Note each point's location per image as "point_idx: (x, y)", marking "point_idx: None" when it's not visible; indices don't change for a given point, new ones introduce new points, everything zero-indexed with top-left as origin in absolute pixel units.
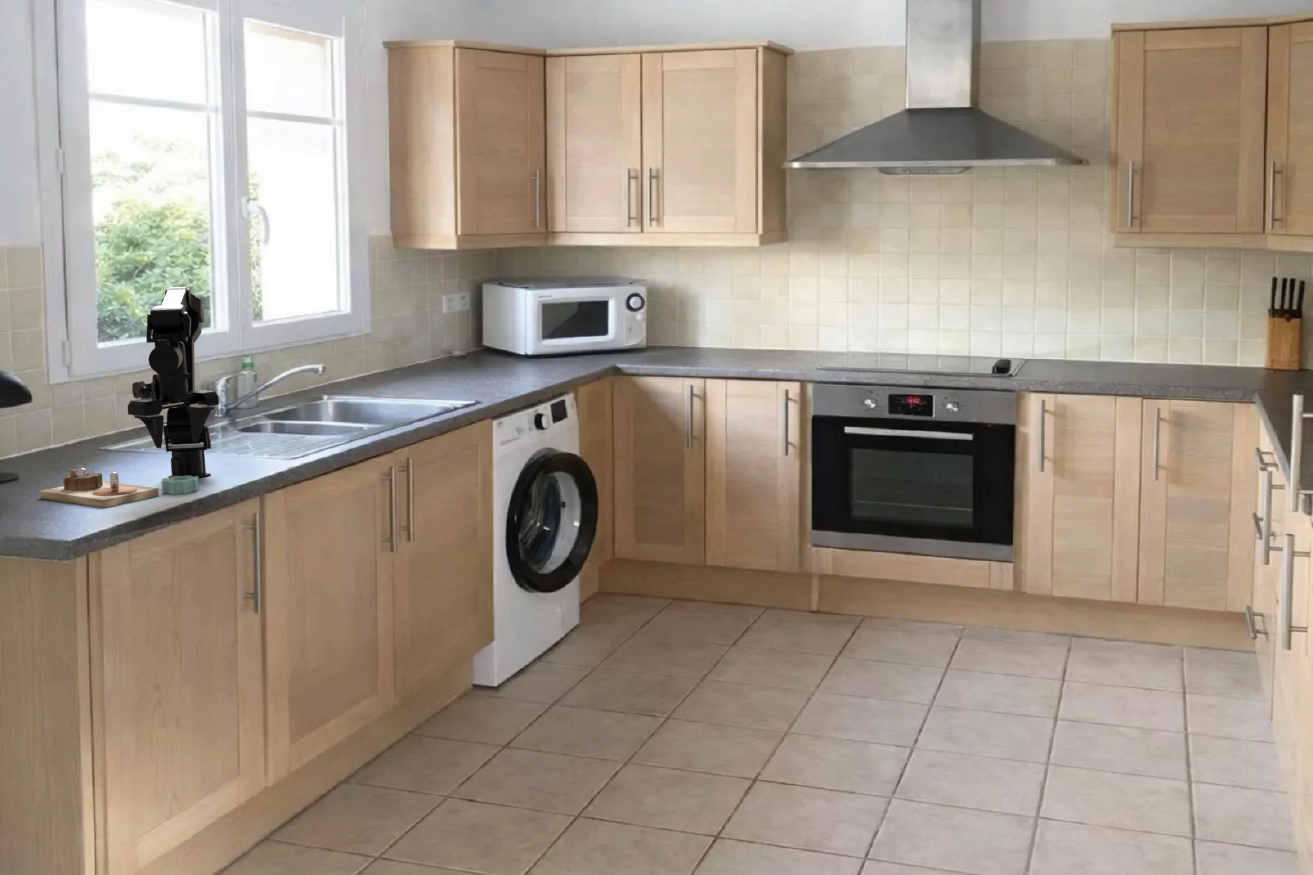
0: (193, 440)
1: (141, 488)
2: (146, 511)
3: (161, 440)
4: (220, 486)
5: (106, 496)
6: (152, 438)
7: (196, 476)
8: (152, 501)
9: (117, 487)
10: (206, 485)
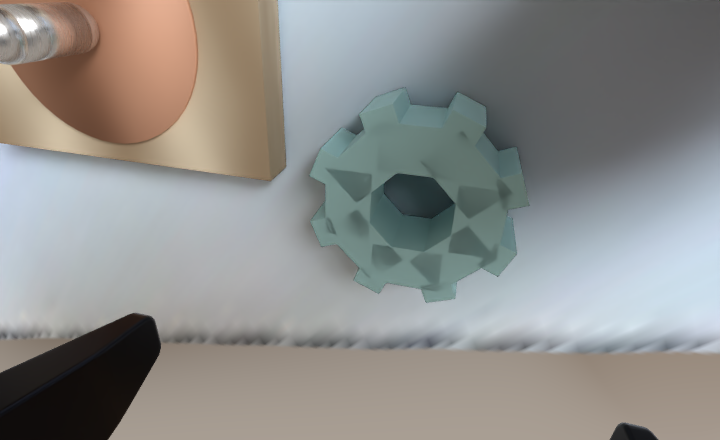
0: (617, 433)
1: (219, 96)
2: (119, 300)
3: (101, 431)
4: (616, 277)
5: (22, 90)
6: (22, 370)
7: (508, 257)
8: (213, 210)
9: (75, 54)
10: (631, 189)
